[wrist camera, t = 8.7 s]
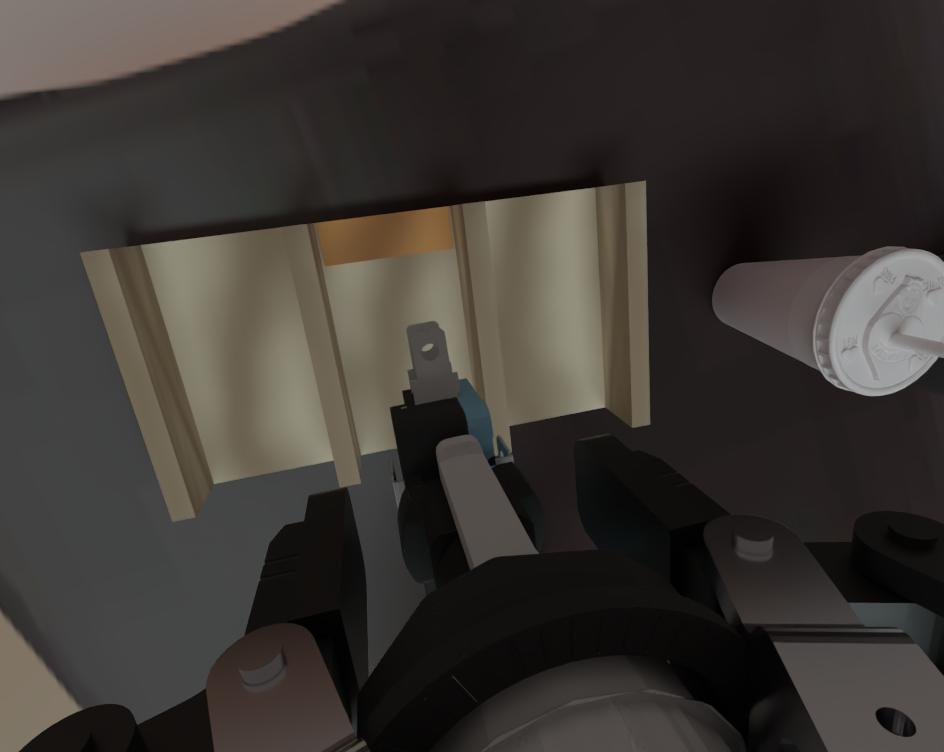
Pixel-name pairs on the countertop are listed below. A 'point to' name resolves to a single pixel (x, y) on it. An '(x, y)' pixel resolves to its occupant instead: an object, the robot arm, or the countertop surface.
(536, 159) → the countertop surface
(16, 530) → the countertop surface
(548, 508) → the countertop surface
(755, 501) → the countertop surface
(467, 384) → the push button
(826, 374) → the smoothie
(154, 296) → the rack
